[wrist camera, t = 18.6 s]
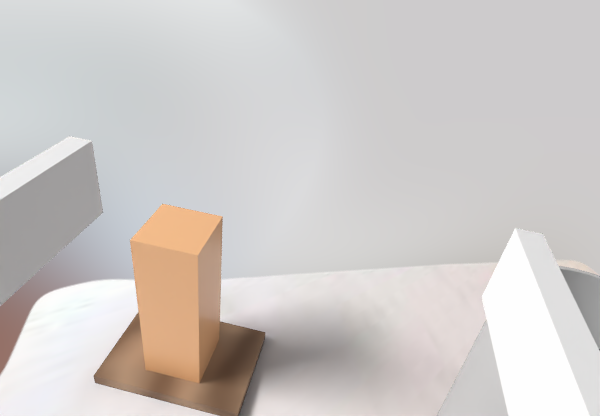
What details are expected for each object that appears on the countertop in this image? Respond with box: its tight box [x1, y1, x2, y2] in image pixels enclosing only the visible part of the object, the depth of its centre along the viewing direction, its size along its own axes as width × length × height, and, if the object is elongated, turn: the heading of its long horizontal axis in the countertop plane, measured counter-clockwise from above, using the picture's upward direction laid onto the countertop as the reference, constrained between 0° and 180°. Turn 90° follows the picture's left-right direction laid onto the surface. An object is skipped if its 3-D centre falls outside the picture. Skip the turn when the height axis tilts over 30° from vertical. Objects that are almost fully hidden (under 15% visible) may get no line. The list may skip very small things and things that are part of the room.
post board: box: [94, 312, 265, 416], centre depth 48 cm, size 16×11×8 cm
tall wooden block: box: [130, 204, 223, 383], centre depth 45 cm, size 6×6×18 cm
